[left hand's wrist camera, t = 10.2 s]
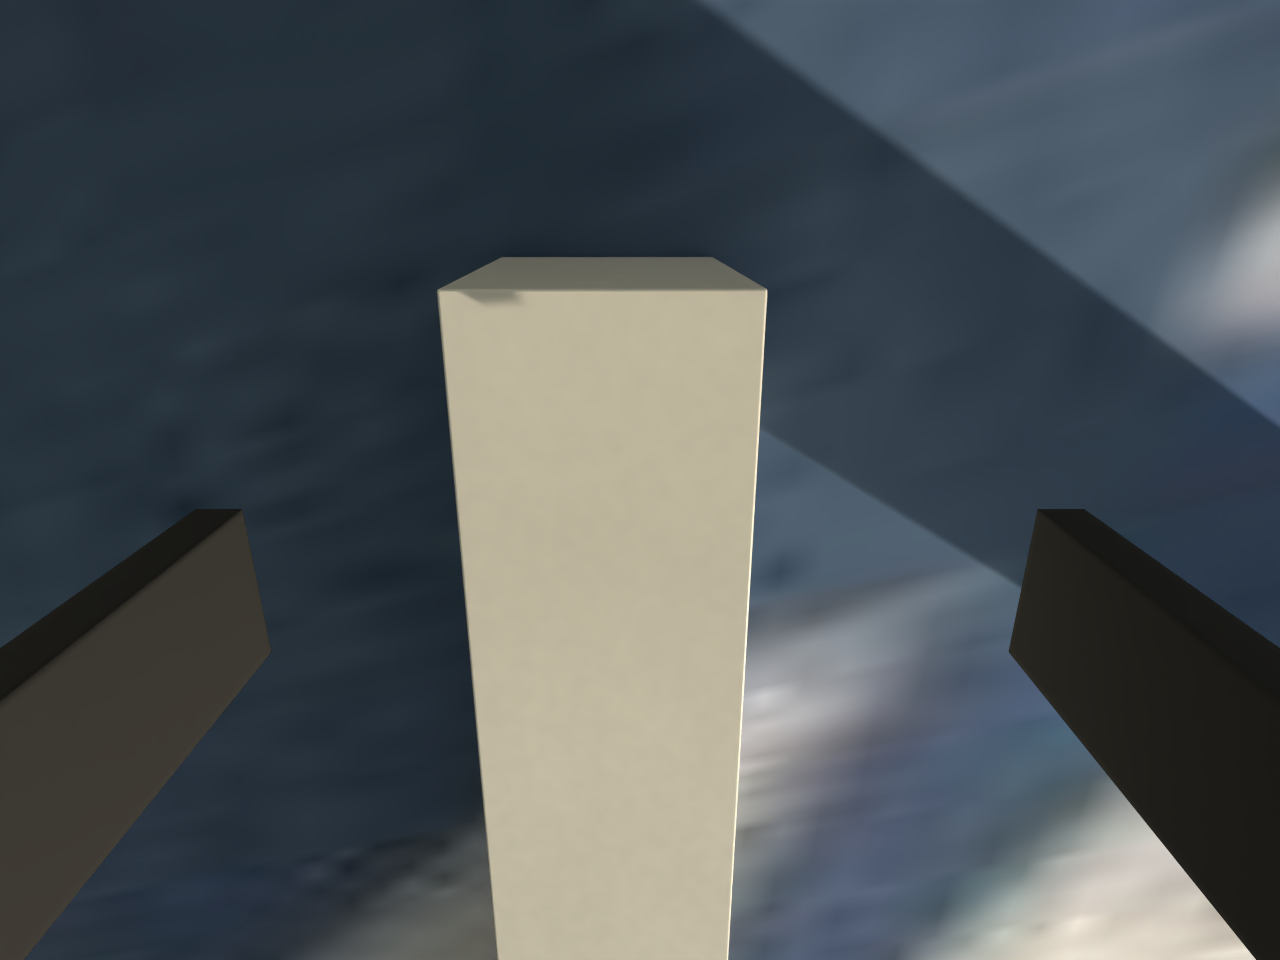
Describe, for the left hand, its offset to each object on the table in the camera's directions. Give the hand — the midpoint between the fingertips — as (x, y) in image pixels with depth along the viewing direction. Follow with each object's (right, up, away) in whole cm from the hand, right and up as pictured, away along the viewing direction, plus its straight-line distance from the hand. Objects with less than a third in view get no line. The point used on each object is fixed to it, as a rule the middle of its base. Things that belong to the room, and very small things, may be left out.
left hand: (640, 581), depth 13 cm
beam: (-1, -22, +20) cm, 30 cm away
